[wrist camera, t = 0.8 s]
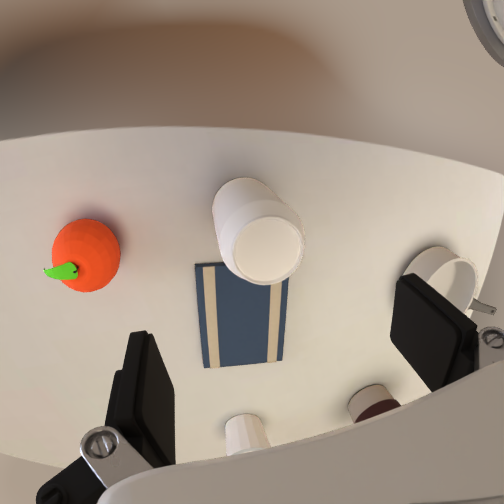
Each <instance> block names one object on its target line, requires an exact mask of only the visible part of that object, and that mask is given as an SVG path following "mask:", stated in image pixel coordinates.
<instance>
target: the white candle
mask: <svg viewBox="0 0 504 504" xmlns="http://www.w3.org/2000/svg"><path fill="white" fill-rule="evenodd" d="M225 432H226V456H231V455H236V454H241V453H247V452H252V451H257V450H261V449H266V448H270V447H271V446H270V443H269V441H268V438H267V436H266V433H265V431H264V428H263V426H262V423H261V420H260V418H258V417H257V416H255V415H251V414H242V415H238V416H235V417H233V418H231V419H229V420H228V422H227V423H226V426H225Z"/></svg>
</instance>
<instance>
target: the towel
mask: <svg viewBox="0 0 504 504" xmlns="http://www.w3.org/2000/svg"><path fill="white" fill-rule="evenodd" d="M195 272H196V286H197V299H198V312H199V323H200V334H201V344H202V354H203V364H204V368H220V367H226V366H237V365H248V364H257V363H266V362H267V363H272V362H276V361H282V356H283V345H284V333H285V321H286V308H287V294H288V280H289V277H288V278H286V279H285V280H283V281H281V282H279V283H276V284H271V285H258V284H254V283H251V282H249V281H247V280H245V279H243V278H240V277H238V276H237V275H235V274H234V273H233V272H232V271H230V270H229V268H228V267H227V266H226V264H225V263H210V264H195Z"/></svg>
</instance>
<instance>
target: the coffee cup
mask: <svg viewBox="0 0 504 504" xmlns="http://www.w3.org/2000/svg"><path fill="white" fill-rule="evenodd" d="M400 406H401V405H400V404H399V402H398V401H396V400H394V398H393V397H392V396H391V394H390V393H389V392H388V391H387V389H386V388H385V387H383V386H381V385H372V386H369V387H366V388H364V389H362V390H361V391H359V392H358V393H357V394H356V395H354V397H353V398H352V399H351V401H350V402H349V405H348V410H349V412H350V415H351V417H352V420H353V422H354V424H355V423H358V422H361V421H364V420H366V419H369V418H372V417H375V416H377V415H380V414H382V413H385V412H388V411H390V410H393V409H395V408H398V407H400Z"/></svg>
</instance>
